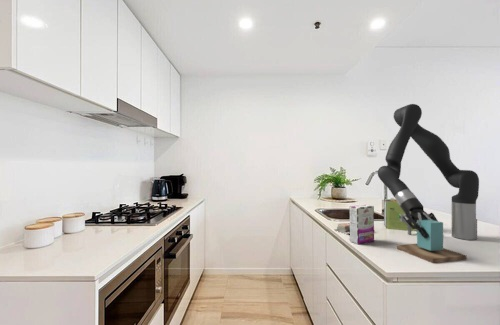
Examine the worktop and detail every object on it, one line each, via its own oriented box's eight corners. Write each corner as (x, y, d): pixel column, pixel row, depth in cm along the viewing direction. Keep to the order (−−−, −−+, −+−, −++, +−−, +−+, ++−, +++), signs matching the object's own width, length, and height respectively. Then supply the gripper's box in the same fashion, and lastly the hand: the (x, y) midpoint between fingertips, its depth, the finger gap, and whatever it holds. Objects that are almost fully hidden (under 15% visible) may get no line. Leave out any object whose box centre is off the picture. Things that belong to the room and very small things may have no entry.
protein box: (418, 231, 135) (418, 202, 136) (386, 228, 141) (386, 200, 141) (413, 227, 145) (413, 200, 145) (383, 224, 151) (383, 198, 151)
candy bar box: (365, 238, 121) (365, 204, 121) (374, 241, 117) (374, 205, 117) (348, 241, 116) (348, 205, 116) (357, 244, 112) (358, 207, 112)
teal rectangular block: (428, 244, 104) (428, 219, 105) (443, 249, 99) (443, 222, 99) (417, 245, 103) (417, 219, 103) (430, 250, 97) (430, 223, 97)
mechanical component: (422, 236, 126) (422, 216, 126) (399, 234, 128) (399, 215, 129) (419, 234, 129) (419, 214, 129) (397, 233, 131) (397, 214, 131)
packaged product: (347, 226, 127) (334, 222, 136) (347, 236, 127) (334, 231, 136) (375, 224, 133) (360, 220, 142) (374, 233, 133) (360, 228, 142)
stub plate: (427, 246, 110) (427, 235, 110) (466, 259, 95) (466, 247, 95) (397, 248, 107) (397, 238, 107) (432, 263, 91) (432, 250, 91)
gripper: (399, 197, 107) (425, 233, 95) (427, 196, 110) (455, 231, 98) (389, 207, 112) (413, 242, 100) (416, 206, 115) (441, 240, 103)
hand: (433, 236), depth 99 cm, fingers closed on teal rectangular block, 5 cm apart
